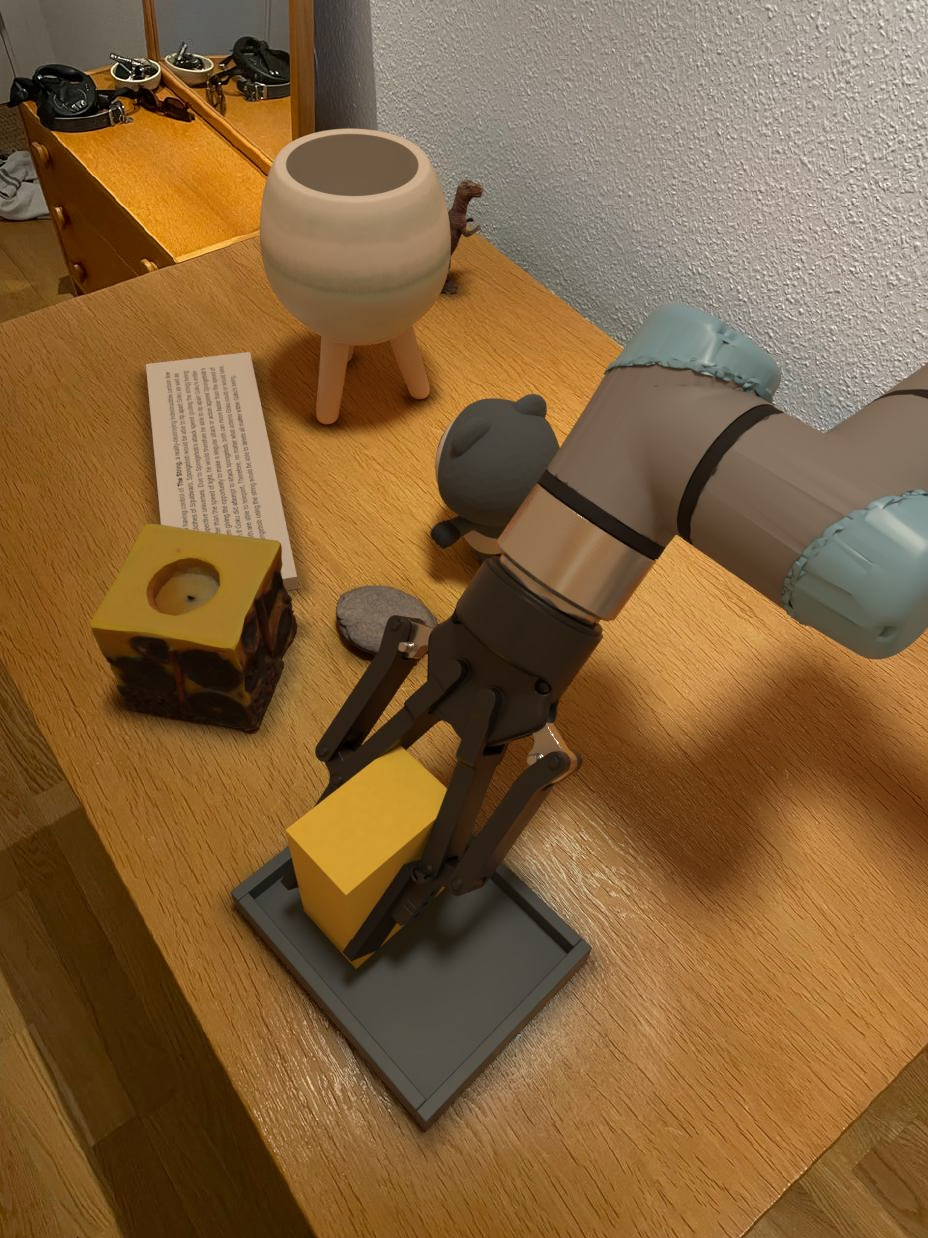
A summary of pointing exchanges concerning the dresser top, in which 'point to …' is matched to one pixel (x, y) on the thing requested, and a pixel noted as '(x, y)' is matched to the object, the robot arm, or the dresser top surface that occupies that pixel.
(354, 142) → the planter
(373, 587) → the stone
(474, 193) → the dinosaur model
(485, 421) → the toy
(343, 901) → the yellow block
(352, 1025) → the tray
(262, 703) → the candle
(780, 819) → the dresser top surface
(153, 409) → the plaque
